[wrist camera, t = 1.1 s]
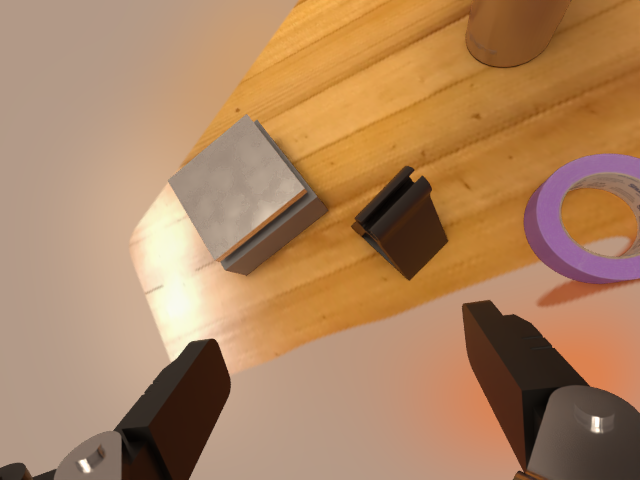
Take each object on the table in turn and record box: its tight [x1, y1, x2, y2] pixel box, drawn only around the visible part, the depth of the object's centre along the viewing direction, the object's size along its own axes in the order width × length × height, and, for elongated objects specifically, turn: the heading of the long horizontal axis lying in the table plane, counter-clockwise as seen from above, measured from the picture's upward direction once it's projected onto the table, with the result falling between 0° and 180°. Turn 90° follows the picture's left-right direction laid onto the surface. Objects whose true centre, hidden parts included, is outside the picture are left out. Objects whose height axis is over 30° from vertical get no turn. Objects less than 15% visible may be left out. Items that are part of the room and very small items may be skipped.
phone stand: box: [351, 166, 448, 280], centre depth 32 cm, size 9×6×12 cm, turn 43°
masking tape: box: [524, 154, 640, 284], centre depth 31 cm, size 12×12×4 cm
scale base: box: [221, 120, 328, 275], centre depth 41 cm, size 13×14×5 cm
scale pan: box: [168, 114, 307, 262], centre depth 36 cm, size 12×12×1 cm
